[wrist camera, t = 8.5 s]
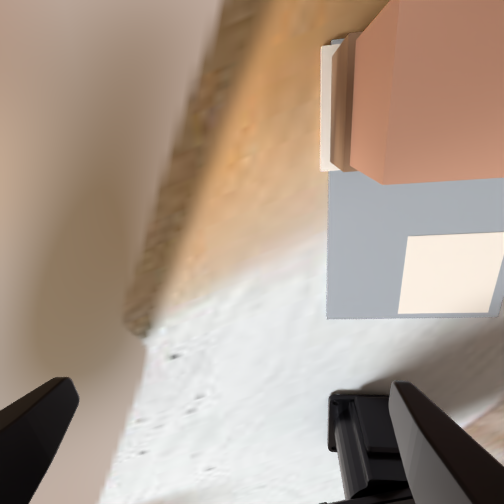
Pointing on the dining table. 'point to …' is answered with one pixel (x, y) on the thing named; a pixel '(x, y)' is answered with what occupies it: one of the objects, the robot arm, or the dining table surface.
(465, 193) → the board
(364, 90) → the terracotta block
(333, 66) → the block
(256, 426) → the dining table surface
